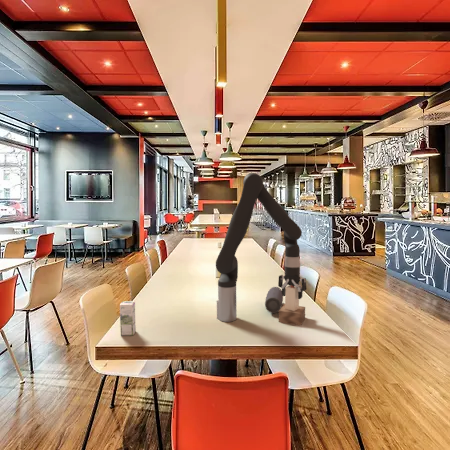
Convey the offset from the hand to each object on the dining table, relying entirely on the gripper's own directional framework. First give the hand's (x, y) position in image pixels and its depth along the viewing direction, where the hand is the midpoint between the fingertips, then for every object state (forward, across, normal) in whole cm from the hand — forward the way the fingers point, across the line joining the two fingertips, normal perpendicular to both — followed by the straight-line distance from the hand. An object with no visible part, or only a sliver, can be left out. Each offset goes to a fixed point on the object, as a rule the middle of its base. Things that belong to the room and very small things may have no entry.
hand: (291, 297), depth 173 cm
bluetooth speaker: (+12, -16, +10) cm, 22 cm away
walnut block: (+12, 0, 0) cm, 12 cm away
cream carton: (+6, 0, 0) cm, 6 cm away
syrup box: (+12, -52, -60) cm, 80 cm away
